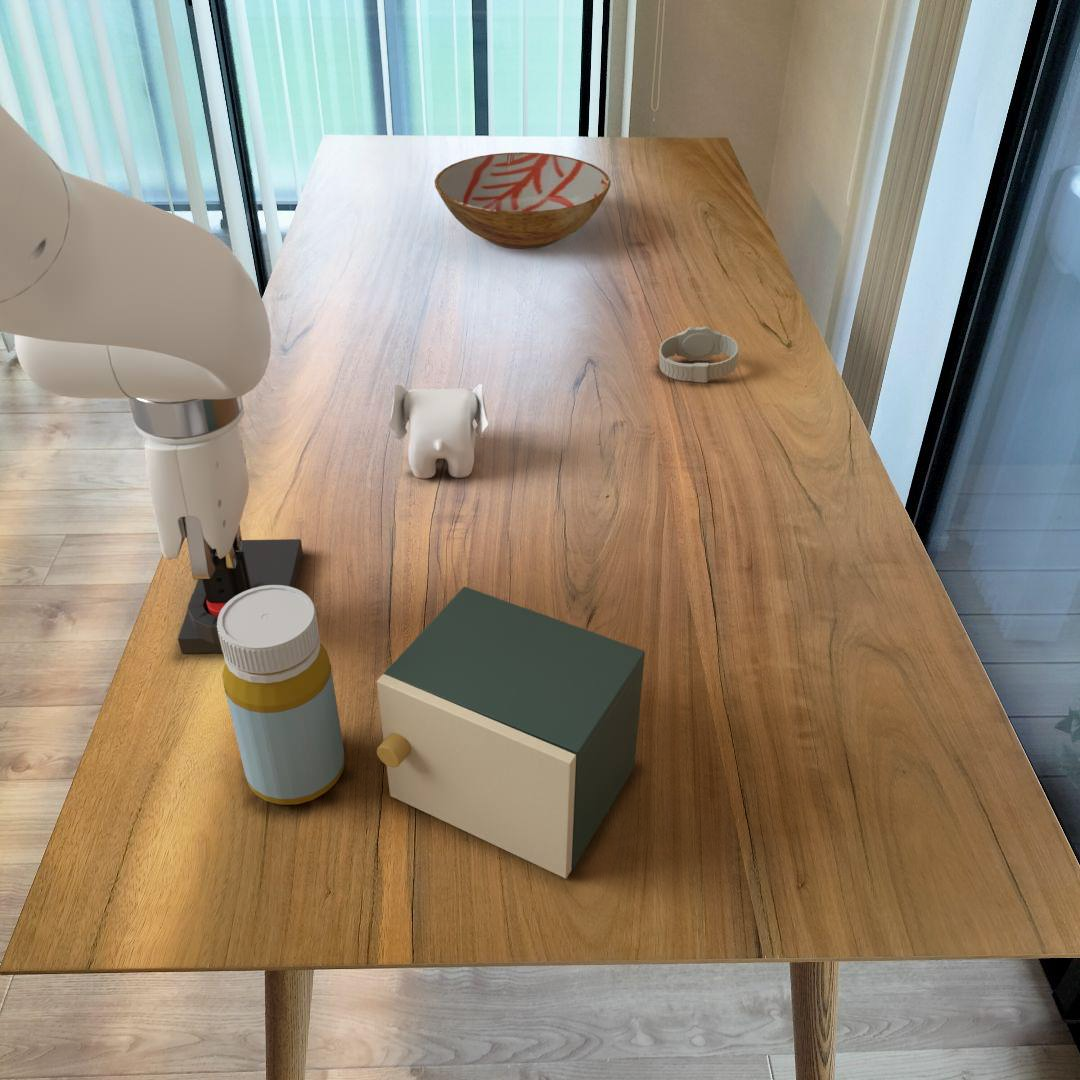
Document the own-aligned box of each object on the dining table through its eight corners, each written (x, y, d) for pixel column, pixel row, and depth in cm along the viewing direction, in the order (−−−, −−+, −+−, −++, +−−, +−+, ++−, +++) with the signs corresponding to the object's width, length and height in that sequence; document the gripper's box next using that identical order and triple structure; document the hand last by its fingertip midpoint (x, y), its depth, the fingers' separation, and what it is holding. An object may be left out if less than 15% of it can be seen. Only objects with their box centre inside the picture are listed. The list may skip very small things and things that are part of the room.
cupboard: (572, 870, 71) (577, 752, 64) (396, 790, 76) (383, 673, 69) (634, 767, 78) (645, 650, 71) (469, 701, 84) (464, 585, 76)
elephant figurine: (489, 427, 116) (487, 353, 110) (489, 491, 106) (487, 413, 101) (399, 429, 115) (393, 354, 110) (392, 493, 106) (385, 415, 100)
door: (555, 895, 69) (559, 779, 63) (377, 810, 75) (362, 694, 68) (571, 870, 71) (576, 754, 64) (396, 788, 76) (383, 673, 69)
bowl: (628, 261, 151) (631, 205, 146) (450, 275, 147) (448, 218, 142) (584, 198, 171) (586, 147, 166) (426, 209, 166) (423, 157, 162)
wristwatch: (735, 361, 128) (740, 322, 125) (737, 387, 123) (742, 347, 120) (657, 357, 129) (660, 318, 126) (657, 383, 124) (660, 343, 121)
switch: (279, 658, 87) (273, 626, 85) (179, 660, 87) (170, 628, 85) (303, 553, 98) (298, 522, 96) (214, 555, 98) (207, 523, 96)
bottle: (314, 721, 82) (287, 566, 73) (364, 777, 77) (342, 620, 68) (230, 766, 78) (190, 609, 69) (277, 827, 74) (241, 669, 65)
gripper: (158, 349, 82) (202, 541, 93) (101, 458, 70) (160, 662, 81) (258, 349, 82) (290, 539, 93) (218, 456, 70) (260, 660, 82)
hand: (229, 596), depth 87 cm, fingers closed
